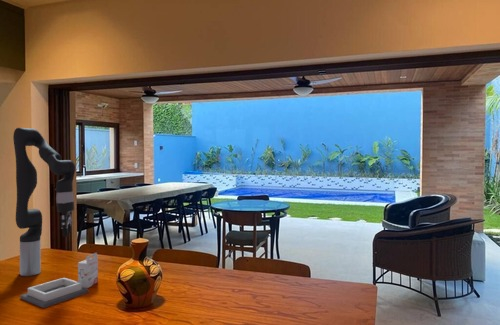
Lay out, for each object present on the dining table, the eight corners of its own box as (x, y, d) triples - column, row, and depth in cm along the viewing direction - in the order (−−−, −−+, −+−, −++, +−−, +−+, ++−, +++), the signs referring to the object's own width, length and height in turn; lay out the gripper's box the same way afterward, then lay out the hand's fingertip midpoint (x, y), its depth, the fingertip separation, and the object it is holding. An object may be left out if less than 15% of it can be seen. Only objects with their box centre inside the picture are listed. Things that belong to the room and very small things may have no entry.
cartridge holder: (20, 298, 160) (20, 288, 160) (65, 284, 177) (65, 275, 176) (43, 308, 150) (43, 297, 150) (88, 292, 167) (88, 282, 167)
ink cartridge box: (89, 281, 182) (88, 251, 181) (98, 282, 181) (98, 252, 180) (77, 287, 173) (77, 256, 173) (87, 288, 172) (86, 256, 172)
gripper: (59, 200, 186) (61, 233, 186) (53, 203, 172) (55, 238, 172) (76, 199, 188) (78, 231, 188) (70, 202, 174) (72, 236, 175)
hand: (67, 234), depth 180 cm, fingers open, 8 cm apart
